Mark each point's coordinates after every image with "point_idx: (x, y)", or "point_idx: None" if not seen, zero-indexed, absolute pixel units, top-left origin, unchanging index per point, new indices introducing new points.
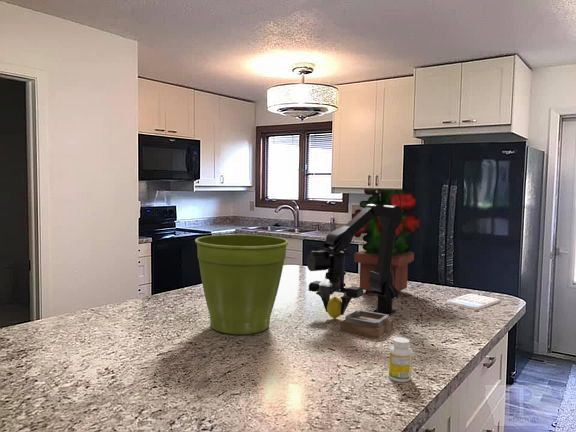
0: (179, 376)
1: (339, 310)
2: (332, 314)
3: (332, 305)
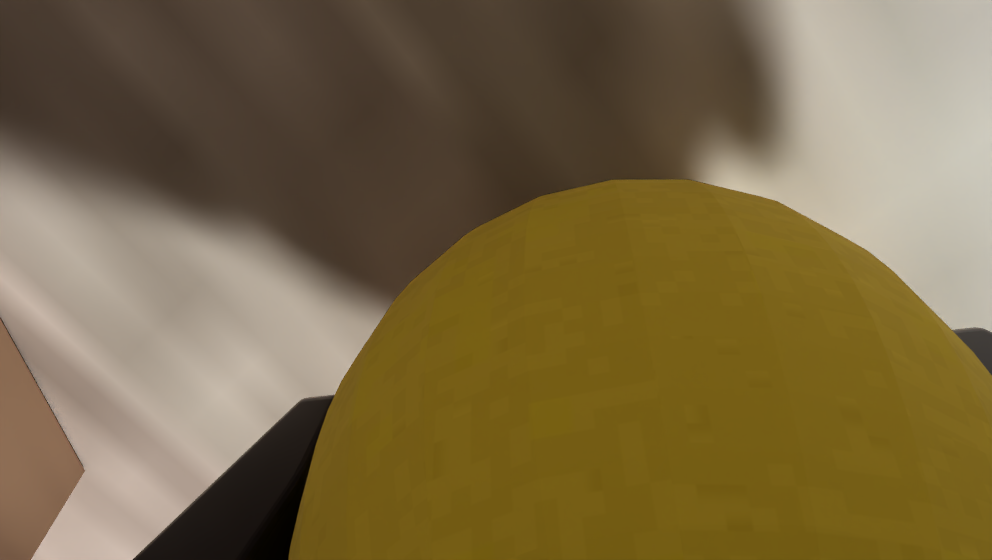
0: None
1: (318, 445)
2: (569, 193)
3: (601, 457)
